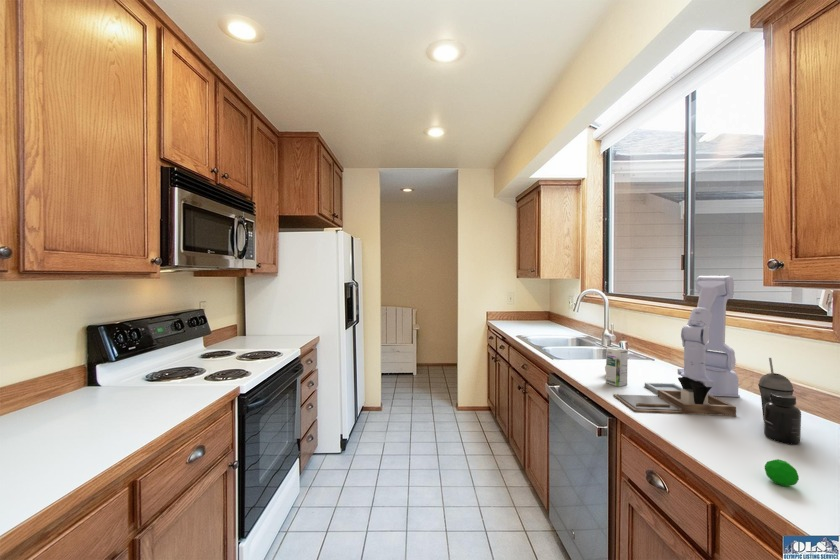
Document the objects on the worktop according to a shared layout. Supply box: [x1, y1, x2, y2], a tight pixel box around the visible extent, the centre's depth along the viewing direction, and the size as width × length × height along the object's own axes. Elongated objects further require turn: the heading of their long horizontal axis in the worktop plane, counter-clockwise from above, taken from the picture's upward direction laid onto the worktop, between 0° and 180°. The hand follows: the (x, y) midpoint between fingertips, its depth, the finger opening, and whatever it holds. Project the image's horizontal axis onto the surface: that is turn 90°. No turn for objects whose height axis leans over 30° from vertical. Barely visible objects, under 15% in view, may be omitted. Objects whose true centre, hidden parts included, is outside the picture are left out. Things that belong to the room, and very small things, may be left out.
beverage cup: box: [758, 357, 794, 421], centre depth 101 cm, size 7×7×20 cm
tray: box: [644, 382, 683, 395], centre depth 132 cm, size 11×11×2 cm
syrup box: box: [605, 346, 629, 387], centre depth 142 cm, size 6×6×14 cm
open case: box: [613, 390, 737, 417], centre depth 119 cm, size 30×15×3 cm, turn 85°
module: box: [680, 389, 708, 404], centre depth 118 cm, size 6×4×5 cm, turn 85°
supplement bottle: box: [763, 392, 802, 446], centre depth 94 cm, size 7×7×12 cm
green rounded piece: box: [764, 458, 799, 487], centre depth 74 cm, size 5×5×5 cm
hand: (694, 401), depth 118 cm, fingers closed on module, 4 cm apart
